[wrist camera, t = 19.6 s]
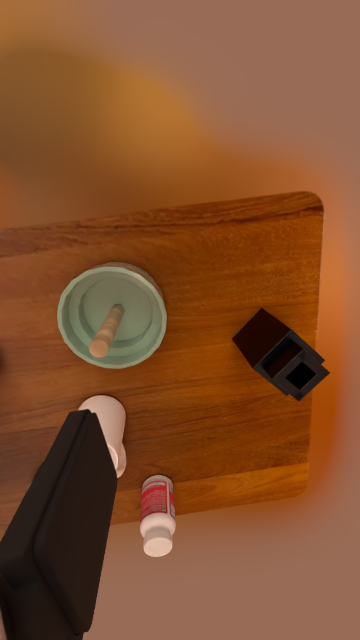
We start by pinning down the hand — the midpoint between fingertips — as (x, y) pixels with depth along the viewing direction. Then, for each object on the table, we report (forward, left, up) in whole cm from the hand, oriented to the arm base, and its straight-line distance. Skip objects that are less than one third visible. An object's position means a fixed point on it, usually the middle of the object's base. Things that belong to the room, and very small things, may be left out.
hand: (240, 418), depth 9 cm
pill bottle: (+35, +25, -33) cm, 54 cm away
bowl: (+10, -3, -33) cm, 34 cm away
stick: (+10, -3, -32) cm, 34 cm away
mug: (+28, +8, -33) cm, 44 cm away
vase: (-1, +18, -33) cm, 37 cm away
